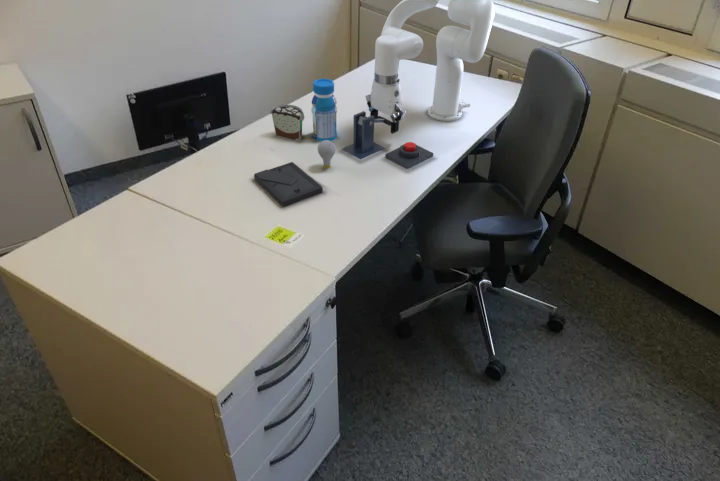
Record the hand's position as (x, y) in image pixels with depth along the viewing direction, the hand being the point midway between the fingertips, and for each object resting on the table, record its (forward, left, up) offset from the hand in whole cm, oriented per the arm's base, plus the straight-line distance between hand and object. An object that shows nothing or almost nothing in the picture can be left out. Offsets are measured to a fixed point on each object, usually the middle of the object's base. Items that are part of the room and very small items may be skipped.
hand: (384, 126), depth 182 cm
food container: (+28, -15, -6) cm, 32 cm away
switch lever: (+5, +2, +3) cm, 6 cm away
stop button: (-3, +14, -2) cm, 14 cm away
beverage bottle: (+18, -9, -6) cm, 21 cm away
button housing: (-3, +14, -6) cm, 15 cm away
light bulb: (+24, +11, -6) cm, 27 cm away
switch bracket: (+9, +4, -6) cm, 11 cm away
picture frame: (+38, +16, -6) cm, 41 cm away
